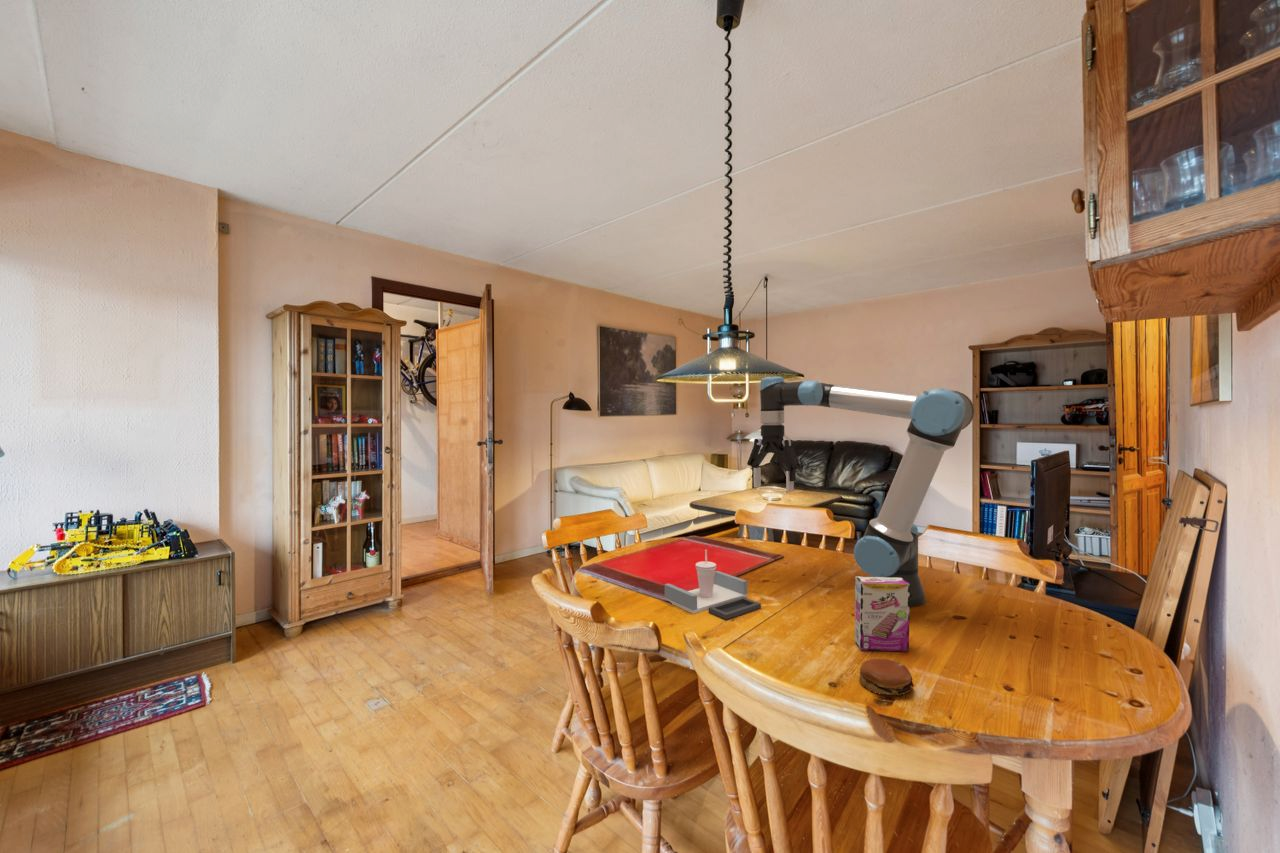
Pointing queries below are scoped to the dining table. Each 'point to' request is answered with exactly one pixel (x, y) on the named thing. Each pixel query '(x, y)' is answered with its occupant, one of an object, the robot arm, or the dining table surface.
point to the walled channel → (723, 592)
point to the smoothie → (706, 577)
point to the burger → (885, 677)
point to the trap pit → (734, 608)
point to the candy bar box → (882, 613)
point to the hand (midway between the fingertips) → (773, 489)
